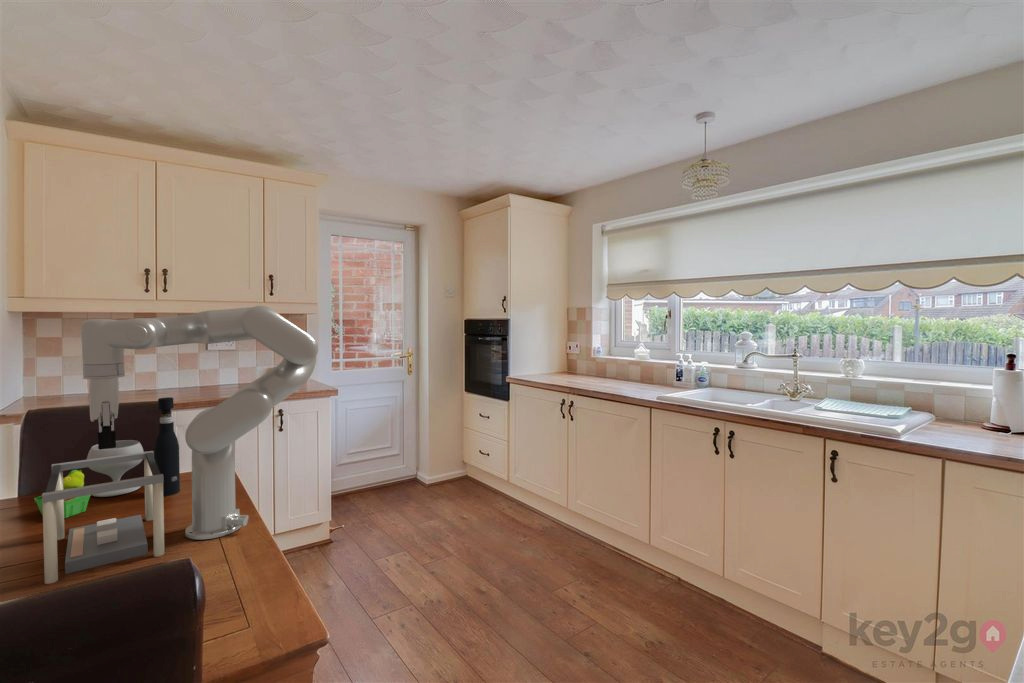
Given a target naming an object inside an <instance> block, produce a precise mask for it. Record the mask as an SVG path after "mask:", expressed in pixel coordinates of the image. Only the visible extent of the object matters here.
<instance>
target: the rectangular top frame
mask: <svg viewBox="0 0 1024 683" xmlns="http://www.w3.org/2000/svg"><path fill="white" fill-rule="evenodd" d="M142 459H143V460H144V459H147V461H148V464H149V467H150V470H151V472H152V476H146V477H144V476H140V477H134V478H128V479H120V481H115V482H113V481H110V482H103V483H96V484H90V485H84V486H83V487H77V488H71V489H65V490H58V491H55V489H56V485H57V481H58V477H59V473H60V471H63V472H64V471H69V470H71V471H72V470H79V469H84V468H89V467H92V466H100V465H107V464H114V463H121V462H128V461H135V460H142ZM143 460H142V461H143ZM50 468H51V473H50V476H49V479H48V482H47V486H46V489H45V492H42V494H41V496H42V503H45V502H51V501H57V500H63V499H69V498H74V497H80V496H86V495H91V496H92V494H98V493H104V492H110V491H116V490H121V489H127V488H133V487H139V486H141V487H143V486H144V487H145V485H151V484H157V483H163V482H164V476H163V474H160V471H159V469H158V466H157V464H156V462H155V459H154V450H150V451H144V452H141V453H133V454H126V455H118V456H111V457H103V458H96V459H88V460H87V459H81V460H73V461H67V462H60V463H52V464H51V467H50Z"/></svg>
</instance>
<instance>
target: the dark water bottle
mask: <svg viewBox="0 0 1024 683" xmlns="http://www.w3.org/2000/svg"><path fill="white" fill-rule="evenodd" d="M157 408H158V410H160V417H159V423H158V434H157V435H156V439H155V442H154V446H153V452H154V459H155V462H156V464H157V466H158V469H159V471H160V474H163V476H164V482H163V497H168V496H172V495H174V496H175V495H176V494H178V493H180V491H181V490H180V489H181V486H180V485H181V484H180V482H181V481H180V480H181V479H180V477H181V475H180V445H179V440H178V437H177V435H176V433H175V430H174V428H175V426H174V424H175V423H174V420H173V416H172V410H173V409H174V408H175V407H174V397H171V396H170V397H169V396H168V397H160V398H158V399H157Z"/></svg>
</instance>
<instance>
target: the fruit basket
mask: <svg viewBox="0 0 1024 683" xmlns="http://www.w3.org/2000/svg"><path fill="white" fill-rule="evenodd" d="M82 471H83V470H81V469H72V470H71V471H70V472H69V473H68V474H67V476H65V477H63V490H65V489H71V488H77V487H83V486H85V474H84V473H83V472H82ZM91 496H92V495H86V496H80V497H74V498H69V499H64V519H67V518H70V517H72V516H73V517H74V516H75V515H79V514H81V513H84V512H86V510H87V507H88V504H89V501H90V498H91ZM34 502H35V503H36V505H37V507H38V509H39V512H40V514H41V515H42V516H43V503H42V495H40V496H36V497H34Z"/></svg>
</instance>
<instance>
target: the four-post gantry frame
mask: <svg viewBox="0 0 1024 683" xmlns="http://www.w3.org/2000/svg"><path fill="white" fill-rule="evenodd" d="M143 464H144V466H143V467H144V468H143V469H144V470H143V472H144V473H143V474H144V476H143V477H146V476H152V472H151V470H150V467H149V464H148V461H147V459H143ZM63 478H64V471H60V473H59V477H58V481H57V485H56V489H55V491H58V490H63ZM164 503H165V502H164V496H163V483H157V484H151V485H145V486H144V516H145V517H144V521H146V522H150V521H152V524H153V525H152V527H153V528H152V530H153V533H152V535H153V538H152V540H153V542H152V543H153V557H154V558H155V557H156V558H157V557H163V556H164V555H165V509H164V507H165V506H164V505H165V504H164ZM144 521H143V517H142V514H136V515H131V516H128V517H127V516H126V517H121V518H116V526H117V536H118V541H113V542H109V543H104V544H100V545H97V522H96V523H91V524H87V525H82V526H77V527H72V528H69V530H68V537H67V545H66V550H65V552H66V553H65V561H64V574H65V575H67V574H72V573H77V572H80V571H85V570H89V569H93V568H96V567H100V566H104V565H108V564H114V563H117V562H120V561H121V562H122V561H126V560H128V559H133V558H138V557H141V556H145V555H146V556H147V555H148V553H149V552H148V550H149V549H148V540H147V536H146V532H145V530H146V529H145V526H144ZM42 528H43V529H42V530H43V531H42V532H43V564H44V565H43V566H44V569H43V571H44V573H43V574H44V584H45V585H51V584H54V583H57V582H58V581H59V569H58V568H59V565H58V563H59V562H58V559H59V558H58V541H60V540H62V539H64V538H65V518H64V499H63V500H57V501H51V502H45V503H43V515H42Z"/></svg>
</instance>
